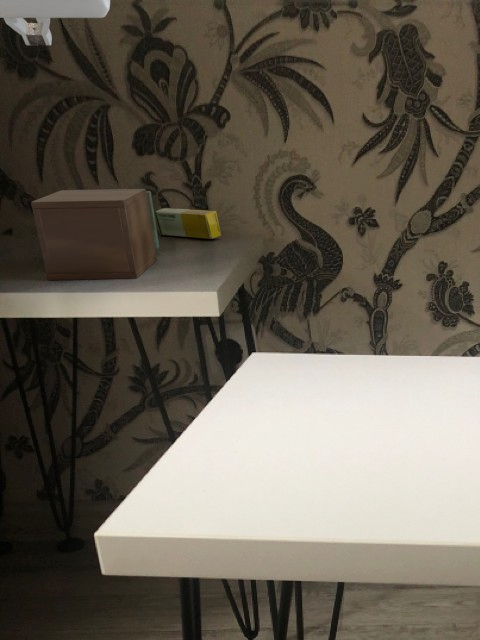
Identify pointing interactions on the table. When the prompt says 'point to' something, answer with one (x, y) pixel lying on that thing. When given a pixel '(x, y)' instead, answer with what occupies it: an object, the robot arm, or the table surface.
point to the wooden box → (95, 234)
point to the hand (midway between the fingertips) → (39, 41)
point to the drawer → (152, 219)
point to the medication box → (188, 223)
